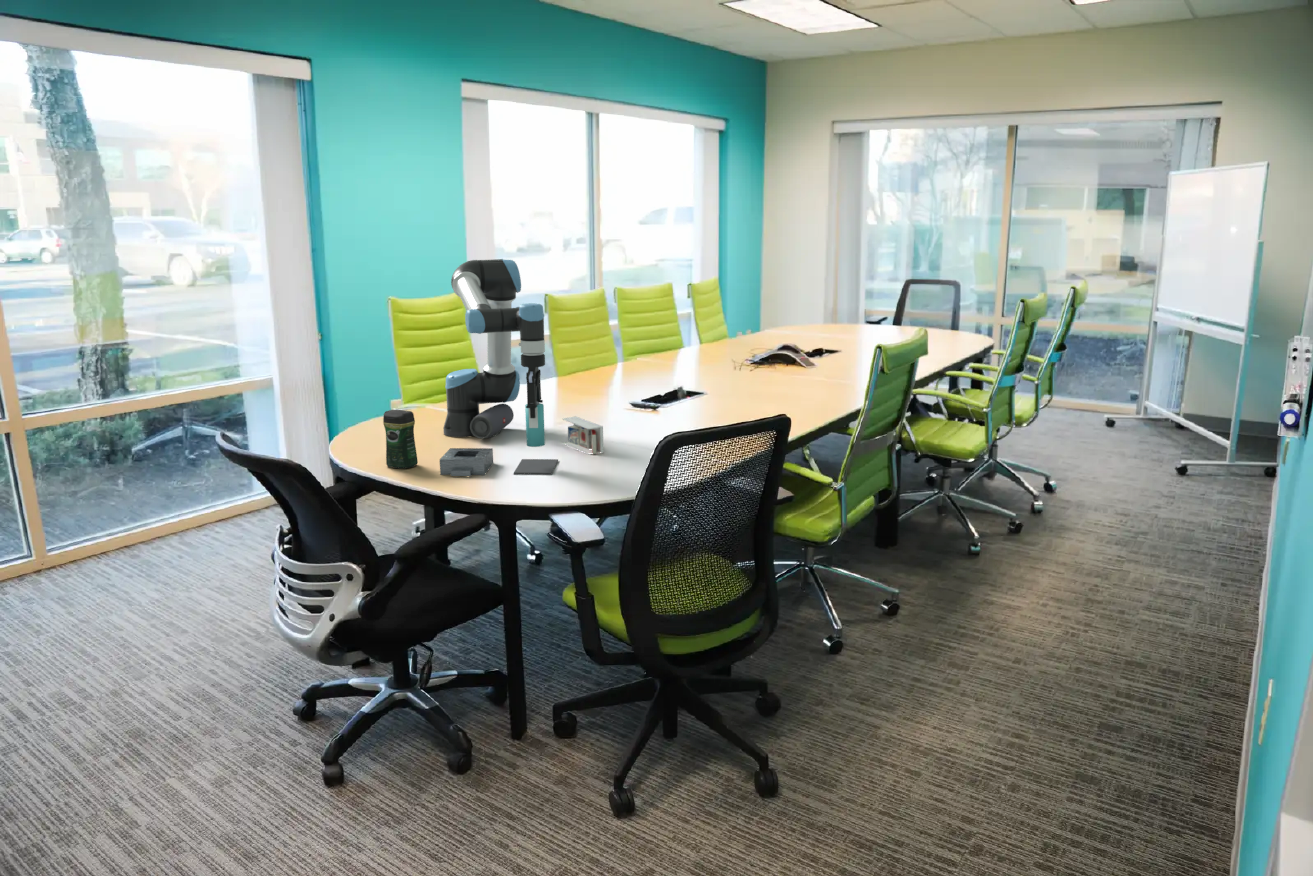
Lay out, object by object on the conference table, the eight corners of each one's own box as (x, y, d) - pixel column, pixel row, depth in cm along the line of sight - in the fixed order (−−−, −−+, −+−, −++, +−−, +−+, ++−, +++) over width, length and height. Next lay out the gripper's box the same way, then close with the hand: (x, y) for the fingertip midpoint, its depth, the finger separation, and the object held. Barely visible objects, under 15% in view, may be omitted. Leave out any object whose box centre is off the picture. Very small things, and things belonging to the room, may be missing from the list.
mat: (522, 460, 307) (522, 459, 307) (558, 461, 307) (558, 459, 306) (513, 474, 291) (513, 472, 291) (551, 474, 291) (551, 472, 291)
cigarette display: (562, 443, 329) (562, 418, 327) (576, 441, 332) (576, 416, 330) (591, 456, 313) (590, 429, 311) (605, 453, 316) (605, 426, 314)
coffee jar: (422, 464, 302) (418, 409, 298) (406, 470, 295) (402, 413, 291) (398, 461, 306) (394, 406, 302) (382, 467, 299) (378, 411, 295)
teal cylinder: (528, 442, 300) (526, 400, 297) (546, 442, 300) (544, 400, 296) (525, 446, 294) (523, 404, 291) (543, 446, 294) (542, 404, 291)
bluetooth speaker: (493, 443, 330) (492, 415, 328) (468, 440, 332) (468, 413, 330) (515, 428, 352) (515, 403, 349) (492, 426, 354) (492, 401, 351)
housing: (452, 460, 307) (451, 446, 306) (494, 461, 306) (494, 446, 305) (438, 476, 288) (437, 461, 287) (483, 477, 288) (482, 461, 287)
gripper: (525, 349, 299) (528, 419, 305) (515, 358, 281) (518, 432, 286) (548, 349, 299) (550, 419, 304) (540, 358, 281) (542, 432, 286)
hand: (535, 425), depth 295 cm, fingers closed on teal cylinder, 6 cm apart
